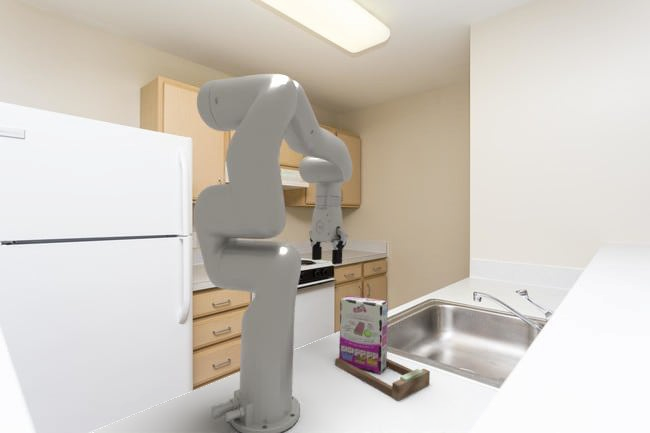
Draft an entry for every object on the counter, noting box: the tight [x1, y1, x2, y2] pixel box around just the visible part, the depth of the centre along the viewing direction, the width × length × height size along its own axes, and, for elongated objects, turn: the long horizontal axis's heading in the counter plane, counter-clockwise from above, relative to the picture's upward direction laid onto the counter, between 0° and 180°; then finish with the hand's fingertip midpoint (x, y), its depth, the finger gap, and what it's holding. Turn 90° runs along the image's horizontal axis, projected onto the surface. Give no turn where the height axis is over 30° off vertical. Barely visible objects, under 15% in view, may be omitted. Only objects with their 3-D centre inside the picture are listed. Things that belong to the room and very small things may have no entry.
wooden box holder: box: [334, 357, 431, 401], centre depth 76 cm, size 11×20×4 cm, turn 39°
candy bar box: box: [338, 295, 389, 375], centre depth 80 cm, size 11×5×16 cm, turn 61°
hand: (326, 261), depth 94 cm, fingers open, 9 cm apart
